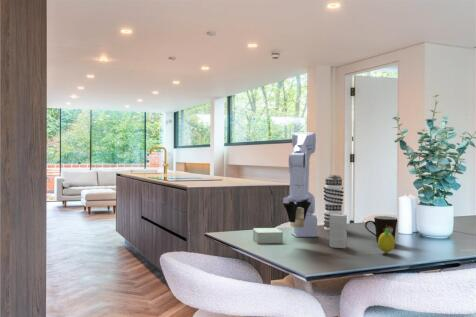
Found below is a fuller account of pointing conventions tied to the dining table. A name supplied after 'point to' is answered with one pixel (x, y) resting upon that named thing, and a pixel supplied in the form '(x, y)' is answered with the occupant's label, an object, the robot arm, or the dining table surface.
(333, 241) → the skincare box
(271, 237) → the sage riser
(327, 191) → the decorative candle
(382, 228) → the coffee mug
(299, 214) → the maple block
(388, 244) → the lemon
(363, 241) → the dining table surface
